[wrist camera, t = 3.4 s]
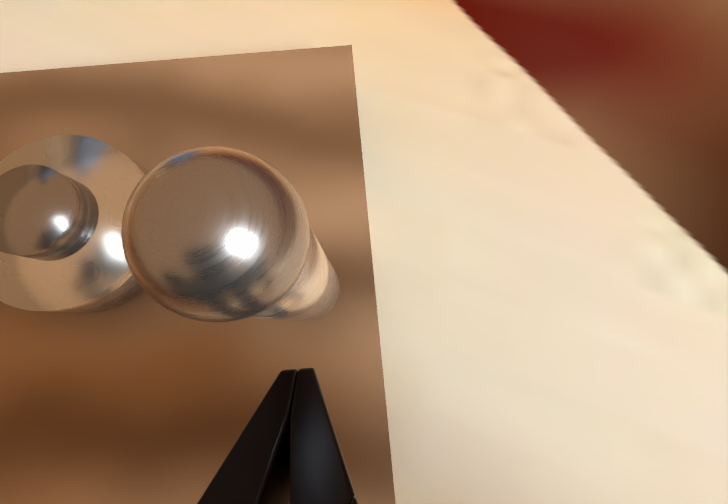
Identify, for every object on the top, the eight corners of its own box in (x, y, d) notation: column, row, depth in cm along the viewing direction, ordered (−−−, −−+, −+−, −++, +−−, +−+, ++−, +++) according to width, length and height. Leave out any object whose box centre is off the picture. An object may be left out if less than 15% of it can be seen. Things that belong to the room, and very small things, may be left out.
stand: (393, 506, 15) (399, 541, 13) (-102, 555, 15) (-193, 601, 13) (352, 73, 19) (351, 36, 17) (-43, 106, 19) (-104, 73, 16)
